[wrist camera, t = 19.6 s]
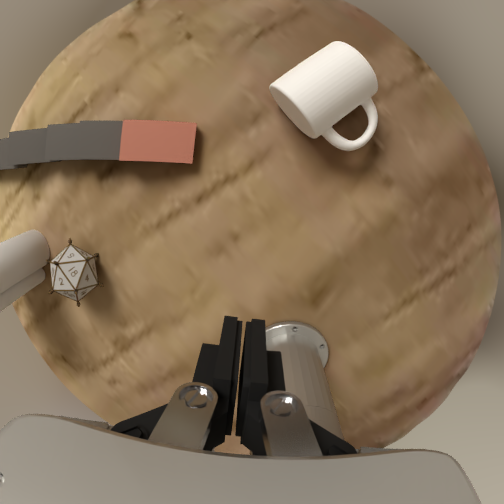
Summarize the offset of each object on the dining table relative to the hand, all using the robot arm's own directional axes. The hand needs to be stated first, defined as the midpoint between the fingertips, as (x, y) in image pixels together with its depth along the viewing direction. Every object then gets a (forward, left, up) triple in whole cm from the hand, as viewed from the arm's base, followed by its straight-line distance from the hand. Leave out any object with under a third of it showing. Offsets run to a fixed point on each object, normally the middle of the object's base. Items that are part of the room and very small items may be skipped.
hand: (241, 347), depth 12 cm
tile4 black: (+9, +29, -26) cm, 40 cm away
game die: (-9, +24, -27) cm, 37 cm away
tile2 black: (+9, +15, -26) cm, 31 cm away
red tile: (+9, +8, -26) cm, 29 cm away
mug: (+16, -8, -27) cm, 33 cm away
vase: (-10, +36, -27) cm, 46 cm away
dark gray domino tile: (+9, +21, -26) cm, 35 cm away
